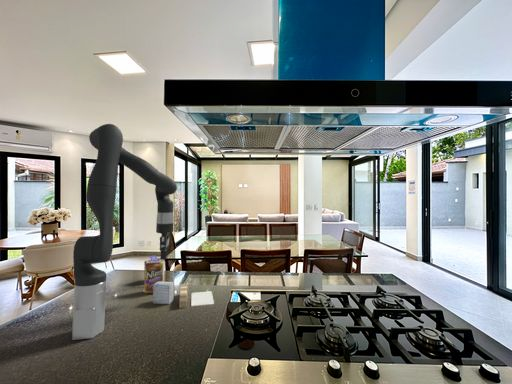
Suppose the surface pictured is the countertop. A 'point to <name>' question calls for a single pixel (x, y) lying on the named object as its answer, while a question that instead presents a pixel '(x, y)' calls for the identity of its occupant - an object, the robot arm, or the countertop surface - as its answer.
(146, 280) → the candy box
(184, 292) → the ledge
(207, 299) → the mat
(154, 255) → the ink cartridge box
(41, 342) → the countertop surface
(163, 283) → the medicine box
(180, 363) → the countertop surface
